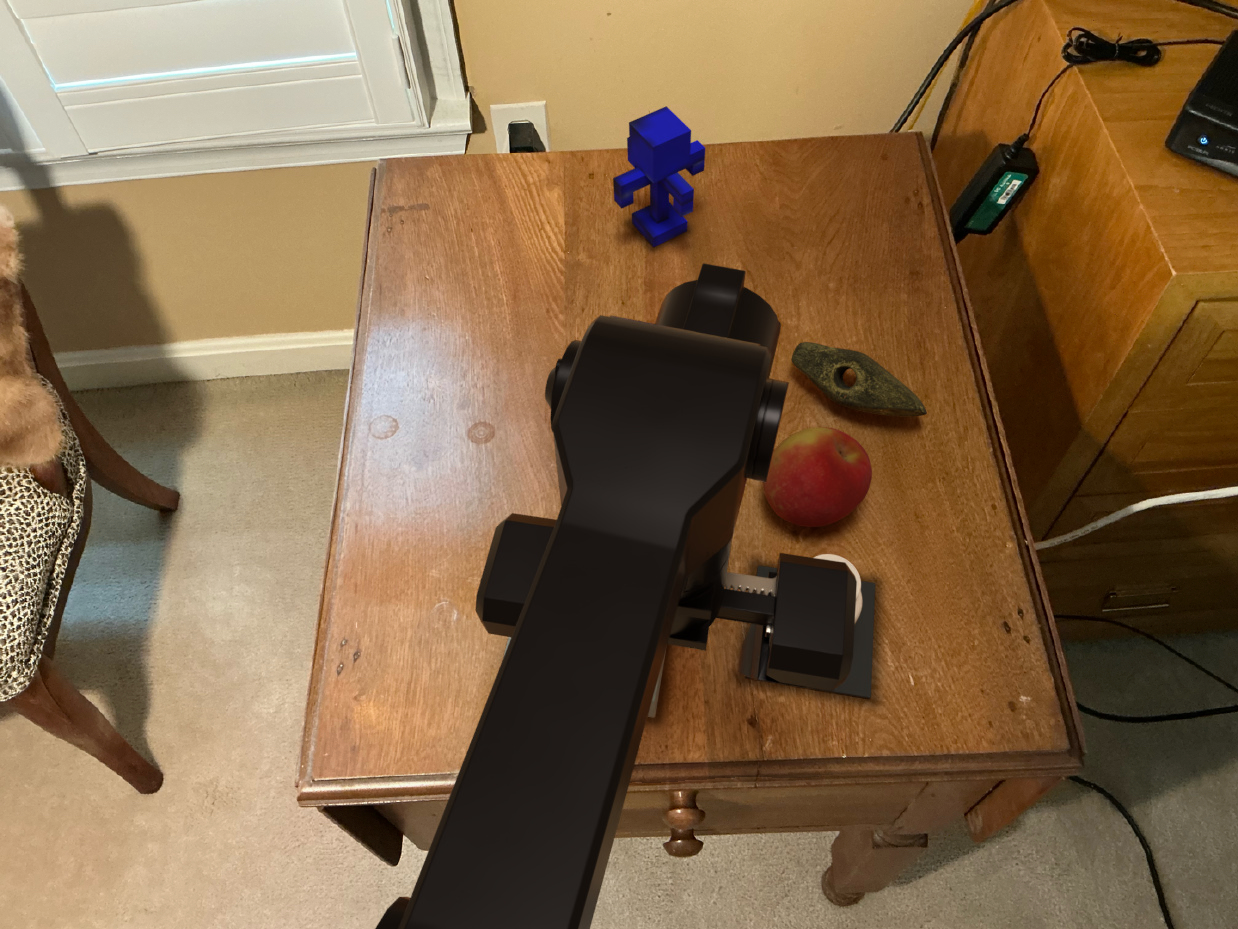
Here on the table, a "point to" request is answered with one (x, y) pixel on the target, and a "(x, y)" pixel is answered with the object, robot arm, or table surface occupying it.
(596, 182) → the table surface
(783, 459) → the apple
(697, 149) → the figurine
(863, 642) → the mat
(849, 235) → the table surface
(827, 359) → the decorative stone
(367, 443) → the table surface
